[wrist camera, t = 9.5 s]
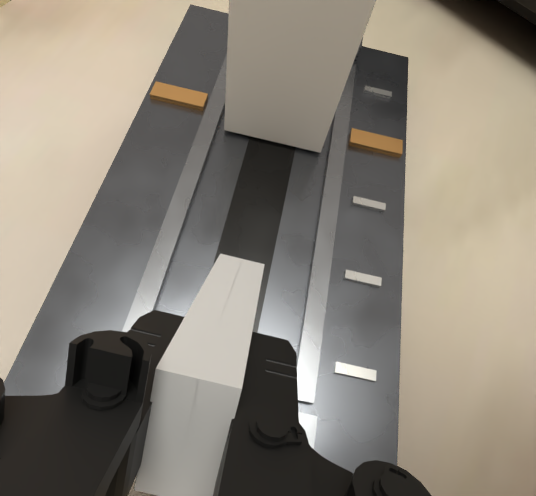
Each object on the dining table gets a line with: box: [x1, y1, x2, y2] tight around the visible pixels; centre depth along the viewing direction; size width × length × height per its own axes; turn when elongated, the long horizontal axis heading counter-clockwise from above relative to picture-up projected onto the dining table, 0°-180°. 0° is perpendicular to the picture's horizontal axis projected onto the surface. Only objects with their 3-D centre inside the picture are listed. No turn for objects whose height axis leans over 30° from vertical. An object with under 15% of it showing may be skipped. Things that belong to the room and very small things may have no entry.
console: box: [4, 5, 408, 473], centre depth 19 cm, size 24×14×3 cm, turn 169°
